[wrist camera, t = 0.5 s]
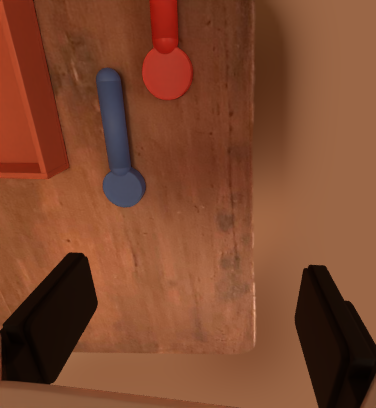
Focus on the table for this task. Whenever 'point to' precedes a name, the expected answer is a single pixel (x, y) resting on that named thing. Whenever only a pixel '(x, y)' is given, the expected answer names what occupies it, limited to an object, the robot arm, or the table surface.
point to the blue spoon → (117, 143)
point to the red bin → (26, 99)
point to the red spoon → (166, 54)
